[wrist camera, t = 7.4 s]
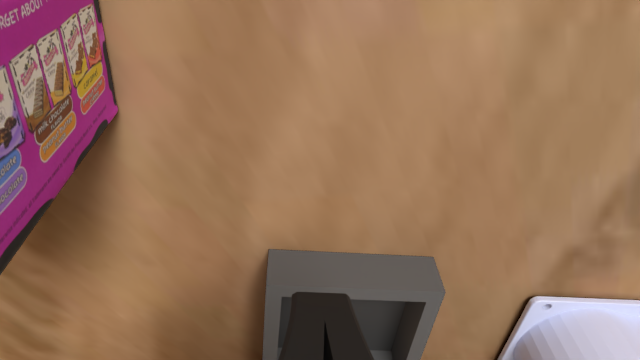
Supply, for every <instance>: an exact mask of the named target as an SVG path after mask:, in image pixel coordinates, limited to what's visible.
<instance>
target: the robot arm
mask: <svg viewBox="0 0 640 360" xmlns="http://www.w3.org/2000/svg"><path fill="white" fill-rule="evenodd" d="M278 360H374V358H373V356H372V354H371V352H370V349H369V347H368V345H367V343H366V340H365V338H364V335H363V333H362V331H361V328H360V326H359V323H358V321H357V318H356V315H355V312H354V309H353V307H352V303H351V300H350V297H349V296H348V295H347V294H344V293H319V292H296V293H294V294H292V300H291V310H290V319H289V323H288V328H287V332H286V336H285V340H284V343H283V347H282V350H281V353H280V356H279V359H278ZM498 360H640V300H621V299H596V298H571V297H546V296H536V297H533V298H531V299H530V300H529V302H528V303H527V305H526V307H525V309H524V311H523V313H522V315H521V317H520V318H519V320H518V322H517V324H516V326H515V328H514V330H513V331H512V333H511V335H510V337H509V339H508V341H507V343H506V345H505V346H504V348H503V350H502V352H501V354H500V356H499V358H498Z"/></svg>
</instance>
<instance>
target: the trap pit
mask: <svg viewBox="0 0 640 360" xmlns="http://www.w3.org/2000/svg"><path fill="white" fill-rule="evenodd" d="M296 292H319V293H344V294H347V295H348V296H349V297H350V300H351V303H352V307H353V309H354V312H355V315H356V318H357V321H358V323H359V326H360V328H361V331H362V333H363V335H364V338H365V340H366V343H367V345H368V347H369V349H370V352H371V354H372V356H373V358H374V360H420V359H421V356H422V353H423V351H424V348H425V345H426V343H427V340H428V337H429V335H430V332H431V329H432V327H433V324H434V322H435V319H436V316H437V314H438V311H439V308H440V306H441V303H442V300H443V298H444V295H445V289H444V286H443V283H442V280H441V278H440V275H439V272H438V269H437V266H436V263H435V260H434V257H422V256H401V255H380V254H359V253H337V252H316V251H295V250H274V249H269V254H268V267H267V280H266V297H265V317H264V338H263V358H262V360H278V359H279V356H280V353H281V350H282V347H283V343H284V340H285V336H286V332H287V328H288V323H289V319H290V310H291V300H292V294H294V293H296Z"/></svg>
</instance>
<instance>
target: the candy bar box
mask: <svg viewBox="0 0 640 360" xmlns="http://www.w3.org/2000/svg"><path fill="white" fill-rule="evenodd" d="M117 112H118V107H117V104H116V100H115V95H114V90H113V83H112V78H111V71H110V65H109V60H108V55H107V49H106V44H105V35H104V30H103V26H102V21H101V16H100V10H99V4H98V0H0V275H1V273H2V272H3V270H4V269H5V268H6V266H7V265H8V263H9V262H10V261H11V259H12V258H13V256H14V255H15V254H16V252H17V251H18V249H19V248H20V247H21V245H22V244H23V242H24V241H25V239H26V238H27V237H28V235H29V234H30V232H31V231H32V230H33V228H34V227H35V225H36V224H37V223H38V221H39V220H40V219H41V217H42V216H43V214H44V213H45V212H46V210H47V209H48V207H49V206H50V205H51V203H52V202H53V200H54V199H55V197H56V196H57V195H58V193H59V192H60V190H61V189H62V188H63V186H64V185H65V183H66V182H67V180H68V179H69V178H70V176H71V175H72V174H73V172H74V171H75V170H76V168H77V167H78V165H79V164H80V162H81V161H82V160H83V158H84V157H85V156H86V154H87V153H88V151H89V150H90V149H91V147H92V146H93V145H94V143H95V142H96V141H97V139H98V138H99V137H100V135H101V134H102V133H103V131H104V130H105V128H106V127H107V126H108V124H109V123H110V122H111V120H112V119H113V118H114V116H115V115H116V114H117Z"/></svg>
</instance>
